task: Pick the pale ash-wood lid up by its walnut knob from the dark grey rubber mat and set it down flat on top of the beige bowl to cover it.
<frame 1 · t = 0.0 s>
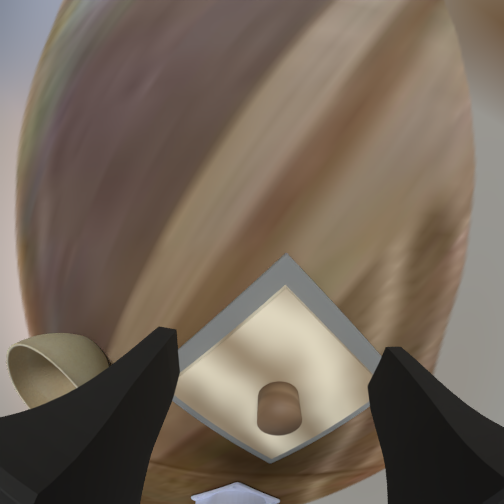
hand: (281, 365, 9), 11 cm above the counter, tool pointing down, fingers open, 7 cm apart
lid: (277, 390, 21), resting on mat
mat: (277, 387, 21), on the counter
beige bowl: (88, 356, 22), on the counter
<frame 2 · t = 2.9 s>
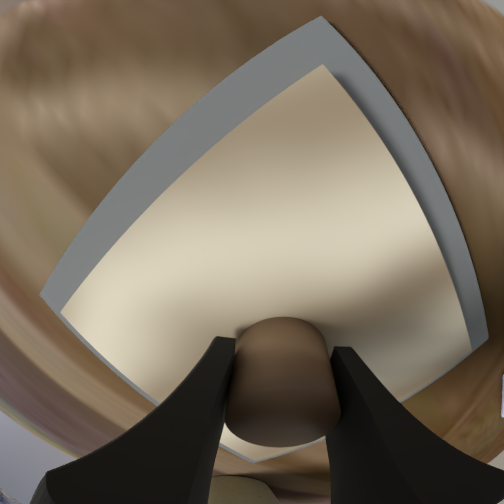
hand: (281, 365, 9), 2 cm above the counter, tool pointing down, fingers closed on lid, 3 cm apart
lid: (280, 339, 10), resting on mat, touching gripper
mat: (280, 333, 10), on the counter
beige bowl: (237, 482, 17), on the counter
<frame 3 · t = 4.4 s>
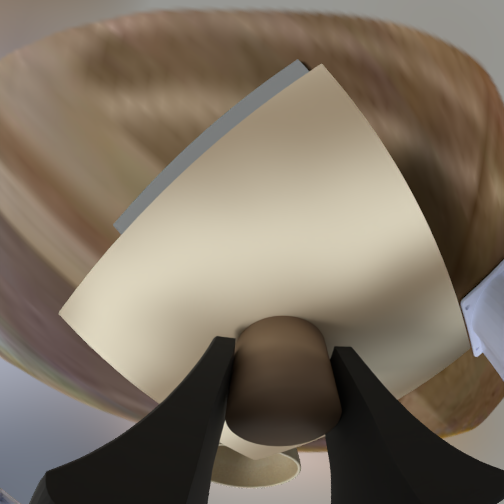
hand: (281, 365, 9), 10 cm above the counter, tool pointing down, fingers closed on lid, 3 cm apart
lid: (279, 338, 10), point 9 cm above the counter, touching gripper
mat: (278, 238, 18), on the counter
beige bowl: (246, 408, 24), on the counter
when the fingers open (9 cm above the counter, at t = 6.3 s): lid stays where it is, resting on beige bowl.
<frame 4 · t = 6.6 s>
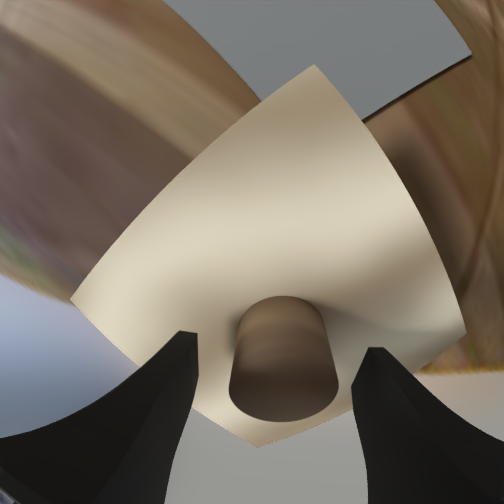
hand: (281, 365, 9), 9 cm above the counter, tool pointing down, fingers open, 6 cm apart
lid: (281, 320, 11), point 7 cm above the counter, touching beige bowl
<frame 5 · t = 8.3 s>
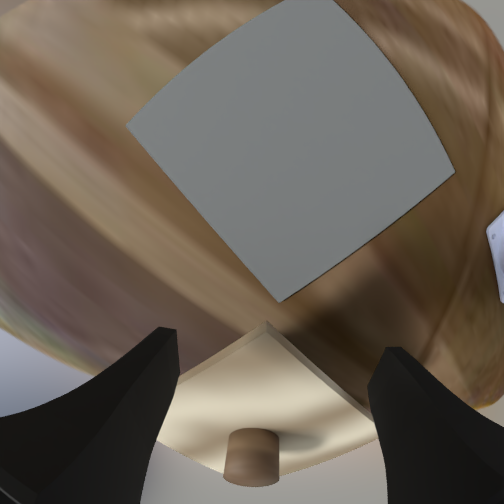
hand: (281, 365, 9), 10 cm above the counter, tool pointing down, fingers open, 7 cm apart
lid: (254, 430, 15), point 7 cm above the counter, touching beige bowl
mat: (302, 134, 16), on the counter
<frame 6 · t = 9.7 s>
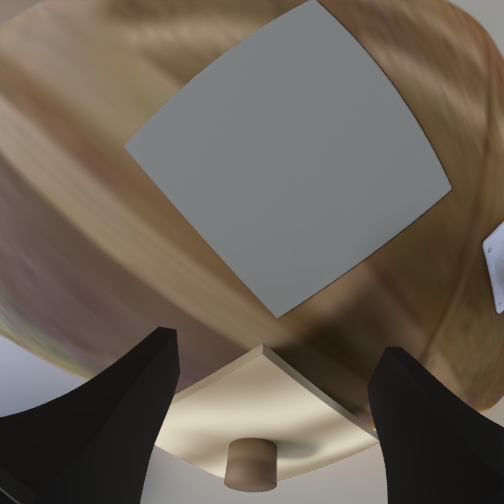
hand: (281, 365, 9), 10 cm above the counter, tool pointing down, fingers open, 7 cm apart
lid: (253, 439, 16), point 7 cm above the counter, touching beige bowl
mat: (299, 155, 16), on the counter
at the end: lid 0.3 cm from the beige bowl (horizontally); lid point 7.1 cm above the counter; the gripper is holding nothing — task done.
